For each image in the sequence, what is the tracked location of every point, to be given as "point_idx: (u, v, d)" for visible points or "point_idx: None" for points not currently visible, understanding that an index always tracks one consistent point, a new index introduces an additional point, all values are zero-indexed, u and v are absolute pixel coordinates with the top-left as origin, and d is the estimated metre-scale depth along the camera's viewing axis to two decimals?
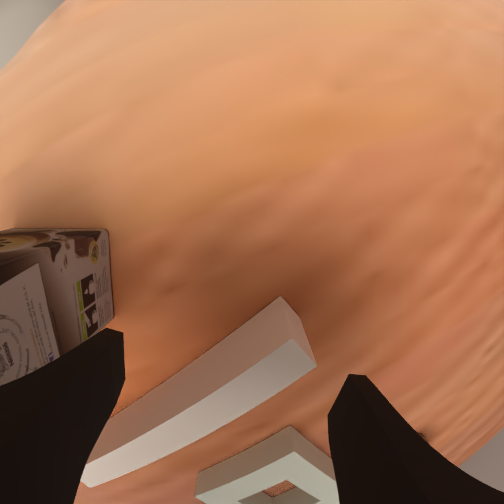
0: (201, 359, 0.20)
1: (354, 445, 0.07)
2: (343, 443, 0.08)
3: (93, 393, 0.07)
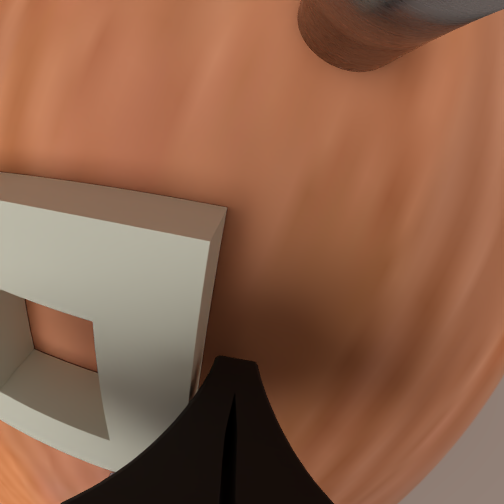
0: None
1: (226, 434, 0.07)
2: None
3: (226, 427, 0.07)
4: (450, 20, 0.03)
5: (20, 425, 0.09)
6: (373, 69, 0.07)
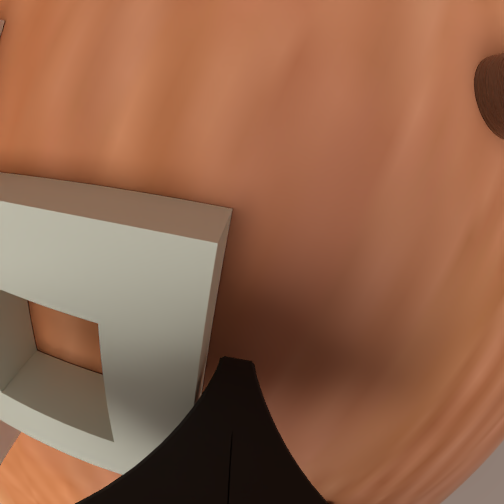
0: None
1: None
2: None
3: None
4: None
5: (23, 427, 0.09)
6: None
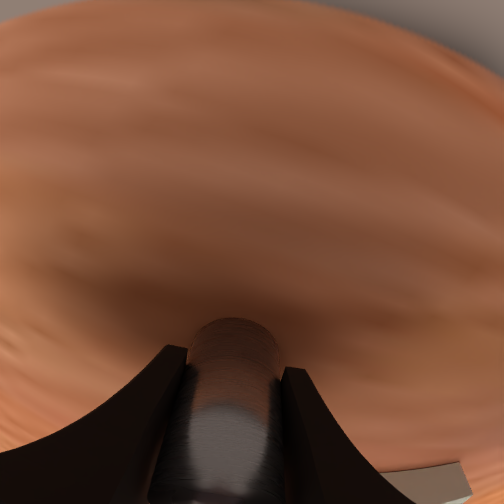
0: None
1: (284, 442, 0.07)
2: None
3: (165, 415, 0.07)
4: (283, 464, 0.06)
5: None
6: (276, 343, 0.10)
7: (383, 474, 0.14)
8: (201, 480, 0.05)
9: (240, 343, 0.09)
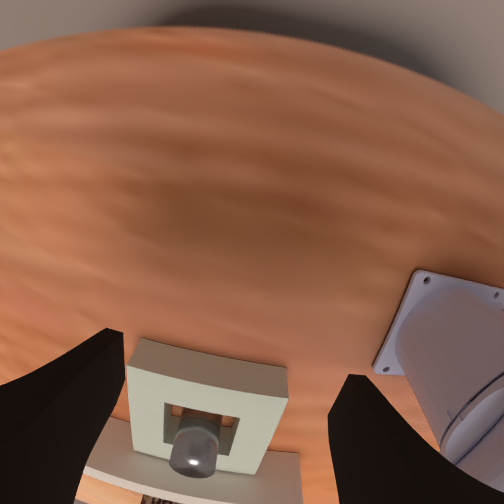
0: None
1: (354, 445, 0.07)
2: (343, 443, 0.08)
3: (93, 393, 0.07)
4: (215, 451, 0.18)
5: (255, 456, 0.20)
6: None
7: (193, 352, 0.20)
8: (184, 454, 0.16)
9: None
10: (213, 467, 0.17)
